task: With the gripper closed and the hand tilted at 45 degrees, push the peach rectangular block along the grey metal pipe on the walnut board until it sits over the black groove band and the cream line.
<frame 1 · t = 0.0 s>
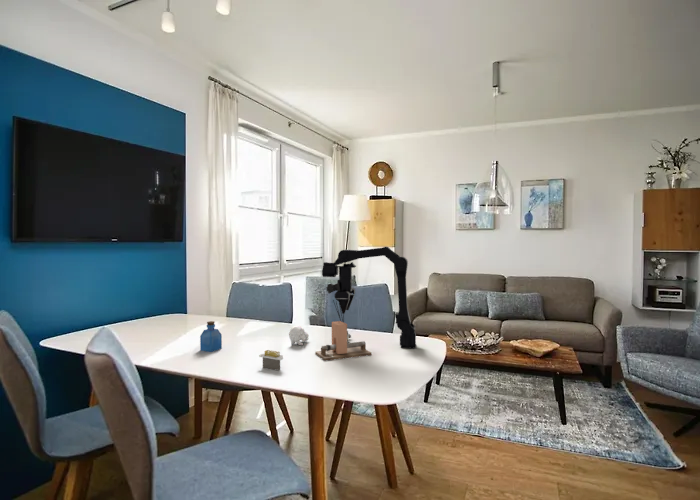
hand: (345, 311, 191), 15 cm above the table, tool pointing down, fingers open, 9 cm apart
peach rectangular block: (339, 337, 173), point 7 cm above the table, slide at 0.0 cm
platform: (272, 369, 156), on the table
white lumpy figurine: (300, 343, 193), on the table
perfume bottle: (211, 350, 183), on the table
pipe rig: (341, 354, 174), on the table
reed diffuser: (342, 340, 198), on the table, touching gripper
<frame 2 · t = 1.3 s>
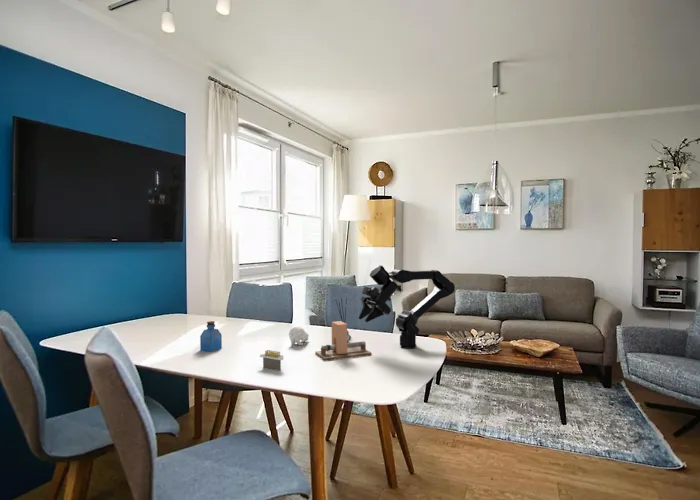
hand: (362, 320, 177), 14 cm above the table, tool tilted 45°, fingers open, 6 cm apart
reed diffuser: (342, 341, 198), on the table
everything else where it was.
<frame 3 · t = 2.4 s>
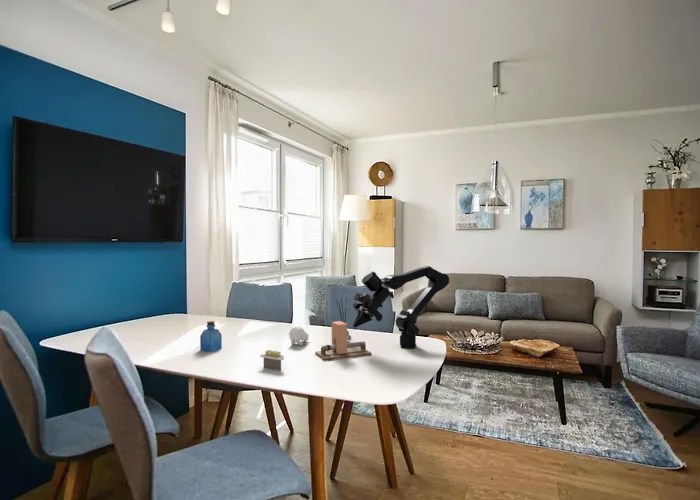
hand: (353, 326, 176), 11 cm above the table, tool tilted 45°, fingers closed
nothing on the table moved.
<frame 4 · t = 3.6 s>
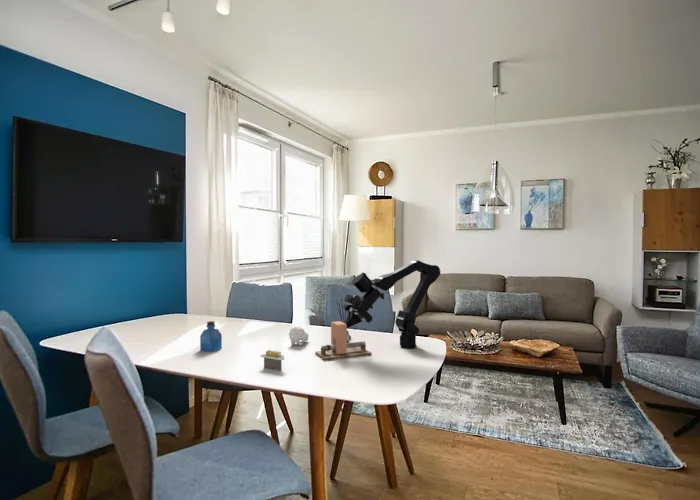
hand: (343, 328, 174), 11 cm above the table, tool tilted 45°, fingers closed, pressing on peach rectangular block
peach rectangular block: (338, 337, 173), point 7 cm above the table, slide at 0.3 cm, touching gripper
everything else where it was.
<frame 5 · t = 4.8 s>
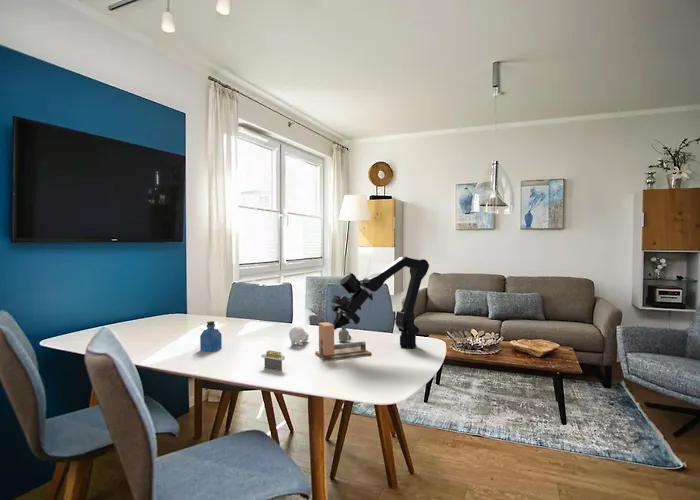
hand: (331, 329, 172), 11 cm above the table, tool tilted 45°, fingers closed, pressing on peach rectangular block
peach rectangular block: (326, 338, 171), point 7 cm above the table, slide at 5.6 cm, touching gripper
everything else where it was.
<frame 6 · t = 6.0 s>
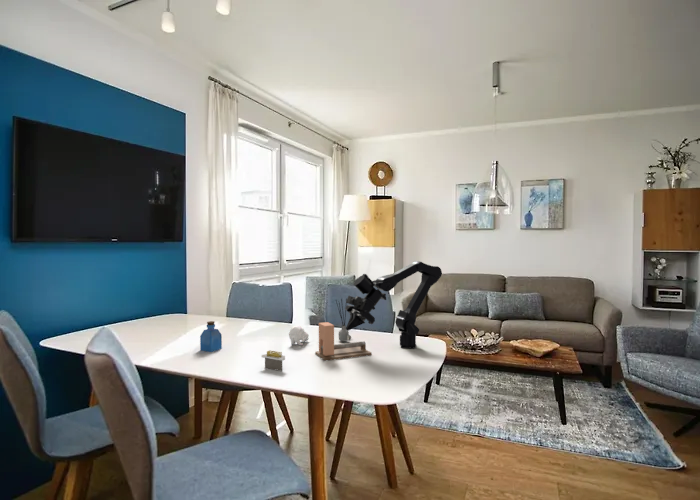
hand: (346, 329, 174), 10 cm above the table, tool tilted 45°, fingers closed
peach rectangular block: (326, 338, 171), point 7 cm above the table, slide at 5.7 cm
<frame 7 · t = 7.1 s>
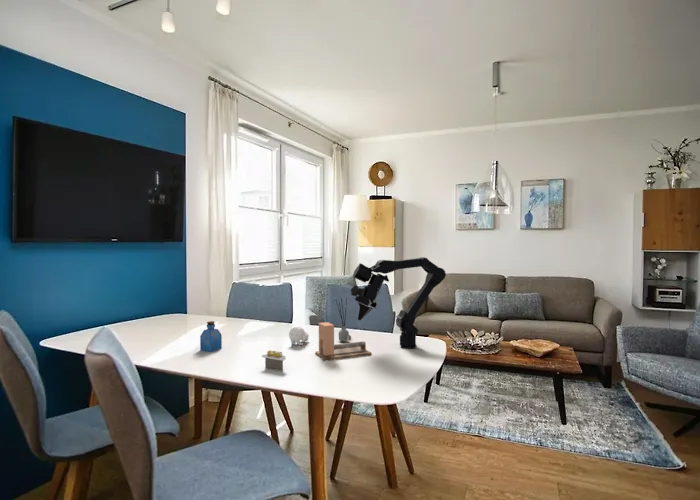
hand: (358, 320, 182), 13 cm above the table, tool tilted 25°, fingers closed
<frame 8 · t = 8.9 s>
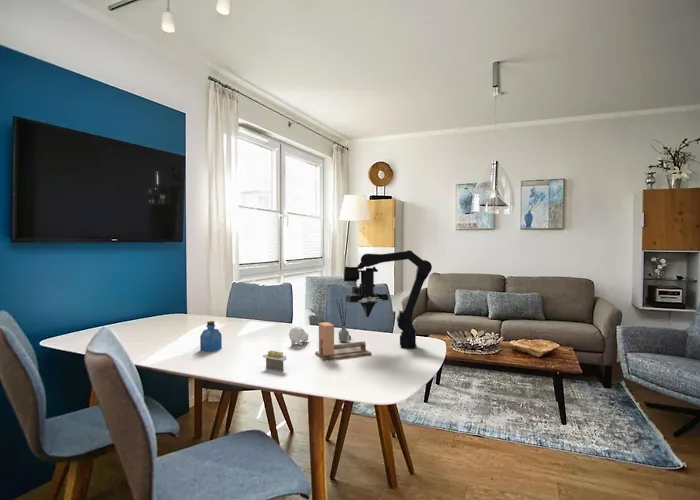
hand: (367, 316, 187), 13 cm above the table, tool pointing down, fingers closed
at the end: peach rectangular block slide at 5.7 cm; peach rectangular block moved 5.7 cm from its start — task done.
